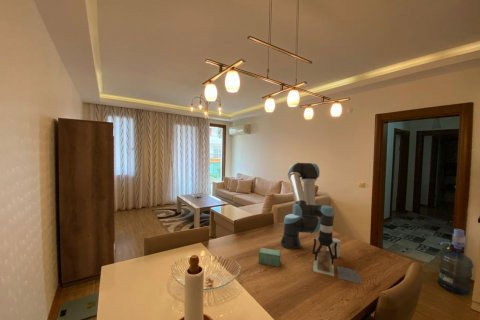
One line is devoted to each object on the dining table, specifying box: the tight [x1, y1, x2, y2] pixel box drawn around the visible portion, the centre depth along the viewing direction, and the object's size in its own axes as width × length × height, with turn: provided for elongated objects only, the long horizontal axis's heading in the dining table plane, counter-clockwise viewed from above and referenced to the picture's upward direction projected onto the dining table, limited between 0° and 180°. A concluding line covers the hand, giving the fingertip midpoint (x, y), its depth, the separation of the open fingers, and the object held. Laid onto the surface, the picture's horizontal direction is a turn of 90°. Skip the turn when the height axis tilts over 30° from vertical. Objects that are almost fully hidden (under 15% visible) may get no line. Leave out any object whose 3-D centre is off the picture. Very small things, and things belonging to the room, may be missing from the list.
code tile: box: [312, 260, 335, 277], centre depth 133 cm, size 12×13×1 cm
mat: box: [336, 266, 362, 285], centre depth 127 cm, size 12×14×1 cm
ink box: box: [325, 237, 342, 258], centre depth 149 cm, size 9×5×12 cm, turn 108°
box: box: [258, 247, 281, 267], centre depth 137 cm, size 7×14×8 cm, turn 77°
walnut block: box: [317, 249, 331, 272], centre depth 133 cm, size 7×7×10 cm
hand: (323, 266), depth 133 cm, fingers closed on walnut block, 7 cm apart
